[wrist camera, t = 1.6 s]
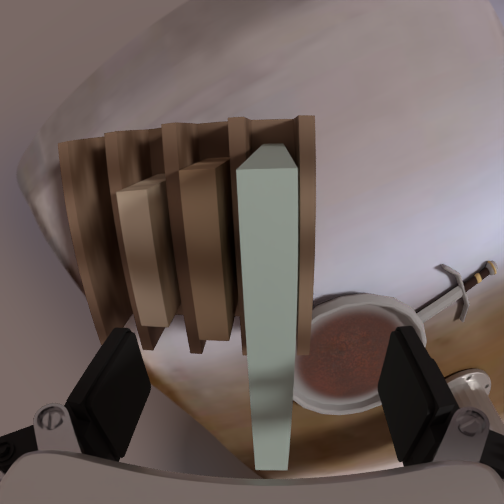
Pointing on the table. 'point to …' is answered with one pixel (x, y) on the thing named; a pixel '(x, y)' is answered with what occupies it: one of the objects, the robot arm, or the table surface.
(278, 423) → the tall sheet
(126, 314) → the rack
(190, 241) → the offcut dark
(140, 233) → the offcut light
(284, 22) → the table surface
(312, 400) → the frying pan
